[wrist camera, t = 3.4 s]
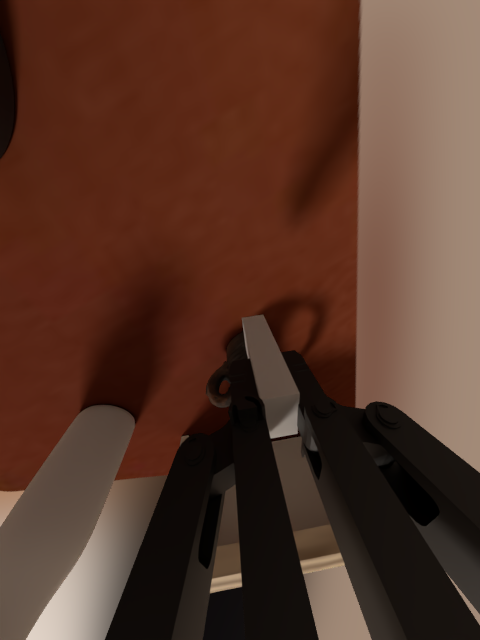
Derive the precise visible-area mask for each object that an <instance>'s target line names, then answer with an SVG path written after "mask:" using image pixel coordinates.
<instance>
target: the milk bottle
mask: <svg viewBox="0 0 480 640" xmlns="http://www.w3.org/2000/svg"><path fill="white" fill-rule="evenodd" d="M134 427H135V420H134V418H133V416H132V415H131V414H130V413H129V412H128V411H126V410H124V409H122V408H119V407H116V406H112V405H95V406H91V407H88V408H86V409H85V410H83V411H82V412H80V413H79V414H78V416H77V417H76V418H75V420H74V421H73V422H72V424H71V425H70V427H69V428H68V429H67V431H66V432H65V434H64V435H63V437H62V438H61V439H60V441H59V442H58V444H57V445H56V447H55V448H54V449H53V451H52V452H51V454H50V455H49V457H48V458H47V459H46V461H45V462H44V464H43V465H42V467H41V468H40V469H39V471H38V472H37V474H36V475H35V477H34V478H33V480H32V481H31V482H30V484H29V485H28V487H27V488H26V490H25V491H24V493H23V494H22V496H21V497H20V499H19V500H18V501H17V503H16V504H15V506H14V507H13V509H12V510H11V512H10V513H9V515H8V516H7V518H6V519H5V521H4V522H3V524H2V526H1V527H0V640H26V638H27V636H28V635H29V633H30V631H31V629H32V628H33V626H34V625H35V623H36V621H37V620H38V618H39V616H40V615H41V613H42V612H43V610H44V609H45V607H46V606H47V604H48V603H49V601H50V600H51V598H52V597H53V595H54V594H55V593H56V591H57V590H58V588H59V587H60V586H61V584H62V583H63V581H64V580H65V579H66V577H67V575H68V574H69V573H70V571H71V570H72V569H73V567H74V566H75V564H76V562H77V561H78V559H79V557H80V556H81V554H82V552H83V550H84V549H85V547H86V545H87V543H88V540H89V539H90V537H91V535H92V533H93V530H94V528H95V526H96V523H97V521H98V519H99V516H100V514H101V511H102V509H103V507H104V504H105V502H106V499H107V496H108V494H109V492H110V489H111V486H112V484H113V482H114V479H115V477H116V474H117V472H118V469H119V467H120V464H121V461H122V459H123V456H124V454H125V451H126V449H127V446H128V444H129V441H130V438H131V436H132V433H133V430H134Z"/></svg>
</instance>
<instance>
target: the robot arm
mask: <svg viewBox="0 0 480 640" xmlns="http://www.w3.org/2000/svg"><path fill="white" fill-rule="evenodd" d="M13 121H14V92H13V84H12V77H11V72H10V67H9V62H8V58H7V54H6V50H5V47H4V44H3V40H2V37H1V34H0V158H1V157H2V155H3V154H4V152H5V150H6V148H7V146H8V143H9V140H10V137H11V133H12V128H13ZM242 323H243V331H244V338H245V346H246V352H247V356H248V359H242V360H236V361H232V363H231V365H230V368H229V372H230V387H231V401H232V402H231V403H230V405H229V411H228V413H229V417H230V420H229V421H228V423H227V424H226V425H225V426H224V427H223V428H221V429H220V430H218V431H216V432H215V433H213V434H211V435H209V436H208V435H206V434H203V433H198V434H193V435H191V436H189V437H188V438H187V439H186V440H185V441H184V442H183V443H181V445H180V447H179V449H178V451H177V453H176V456H175V458H174V461H173V463H172V466H171V469H170V471H169V474H168V476H167V479H166V482H165V484H164V487H163V490H162V492H161V495H160V497H159V500H158V503H157V506H156V508H155V510H154V513H153V516H152V518H151V521H150V523H149V526H148V529H147V531H146V534H145V536H144V539H143V542H142V545H141V547H140V549H139V552H138V555H137V557H136V560H135V562H134V565H133V568H132V570H131V573H130V575H129V578H128V581H127V583H126V586H125V589H124V591H123V594H122V596H121V599H120V602H119V604H118V607H117V609H116V612H115V615H114V617H113V620H112V622H111V625H110V628H109V630H108V633H107V636H106V638H105V640H203V633H204V627H205V620H206V614H207V607H208V601H209V595H210V588H211V582H212V576H213V569H214V563H215V556H216V550H217V543H218V537H219V530H220V524H221V518H222V511H223V505H224V498H225V492H226V491H227V490H228V489H230V488H231V487H233V486H234V485H236V500H237V516H238V531H239V547H240V562H241V578H242V593H243V609H244V624H245V640H319V639H318V635H317V630H316V626H315V622H314V618H313V614H312V610H311V605H310V601H309V597H308V593H307V589H306V584H305V580H304V576H303V572H302V568H301V563H300V559H299V555H298V551H297V547H296V542H295V538H294V534H293V530H292V526H291V522H290V517H289V513H288V509H287V505H286V501H285V496H284V492H283V488H282V484H281V480H280V475H279V471H278V467H277V463H276V459H275V455H274V450H273V446H272V442H271V438H277V437H282V436H288V435H294V434H298V429H299V432H300V434H301V437H302V444H301V455H302V458H303V457H305V456H306V459H307V462H308V465H309V467H310V470H311V473H312V476H313V478H314V481H315V484H316V487H317V489H318V492H319V495H320V498H321V500H322V503H323V506H324V509H325V511H326V514H327V517H328V520H329V522H330V525H331V528H332V531H333V533H334V536H335V539H336V542H337V545H338V547H339V550H340V553H341V556H342V558H343V561H344V564H345V567H346V569H347V572H348V575H349V578H350V580H351V583H352V586H353V589H354V591H355V594H356V597H357V599H358V602H359V605H360V608H361V610H362V613H363V616H364V619H365V621H366V625H367V627H368V630H369V633H370V635H371V638H372V640H480V625H479V624H478V622H477V621H476V619H475V618H474V616H473V614H472V613H471V611H470V610H469V608H468V607H467V605H466V603H465V602H464V600H463V599H462V597H461V596H460V594H459V592H458V591H457V589H456V588H455V586H454V585H453V583H452V582H451V580H450V578H451V579H452V580H453V581H454V582H455V584H456V585H457V586H458V588H459V589H460V590H461V591H462V593H463V594H464V595H465V596H466V598H467V599H468V600H469V601H470V603H471V604H472V605H473V606H474V608H475V609H476V610H477V611H478V612H479V614H480V473H479V472H478V471H476V470H475V469H474V468H473V467H471V466H470V465H469V464H468V463H466V462H465V461H464V460H463V459H461V458H460V457H459V456H458V455H456V454H455V453H454V452H453V451H451V450H450V449H449V448H448V447H446V446H445V445H444V444H443V443H441V442H440V441H439V440H437V439H436V438H435V437H434V436H432V435H431V434H430V433H429V432H427V431H426V430H425V429H424V428H422V427H421V426H420V425H419V424H417V423H416V422H415V421H413V420H412V419H411V418H409V417H408V416H407V415H406V414H405V413H403V412H402V411H401V410H399V409H398V408H396V407H394V406H392V405H390V404H387V403H384V402H373V403H370V404H369V405H367V406H366V409H359V408H352V407H346V406H342V405H339V404H337V403H336V402H335V401H334V400H332V399H331V398H329V397H327V396H326V395H325V393H324V392H323V390H322V388H321V387H320V385H319V384H318V382H317V380H316V379H315V377H314V375H313V374H312V372H311V370H310V369H309V367H308V365H307V364H306V362H305V360H304V359H303V357H302V356H301V355H300V354H299V353H297V352H296V351H295V350H293V351H287V352H280V350H279V348H278V345H277V343H276V341H275V339H274V337H273V335H272V332H271V330H270V328H269V326H268V324H267V322H266V320H265V317H264V315H257V316H251V317H245V318H242ZM444 570H445V571H446V572H445V571H444ZM446 573H447V574H448V575H449V576H450V578H449V577H448V575H447V574H446Z"/></svg>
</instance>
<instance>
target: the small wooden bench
mask: <svg viewBox="0 0 480 640" xmlns="http://www.w3.org/2000/svg"><path fill="white" fill-rule="evenodd" d="M188 437H189V435H186V436H182V437H181V443H183V442H184V441H185V440H186V439H187V438H188ZM181 443H180V445H181ZM301 444H302V437H301V436H300V437H295V438H289V439H284V440H278V441H273V442H272V446H273V450H274V455H275V459H276V463H277V467H278V471H279V475H280V480H281V484H282V488H283V492H284V496H285V501H286V505H287V509H288V513H289V517H290V522H291V526H292V530H293V534H294V538H295V542H296V547H297V551H298V555H299V559H300V563H301V568H302V572H303V574H305V573H310V572H314V571H320V570H325V569H329V568H334V567H339V566H344V565H345V564H344V561H343V558H342V556H341V553H340V550H339V547H338V545H337V542H336V539H335V536H334V533H333V531H332V528H331V525H330V522H329V520H328V517H327V514H326V511H325V509H324V506H323V503H322V500H321V498H320V495H319V492H318V489H317V487H316V484H315V481H314V478H313V476H312V473H311V470H310V467H309V465H308V462H307V459H306V456H305V457H303V458H302V455H301ZM237 587H242V578H241V562H240V547H239V531H238V516H237V500H236V485H234V486H233V487H231V488H230V489H228V490H227V491H226V492H225V498H224V505H223V511H222V518H221V524H220V530H219V537H218V543H217V550H216V556H215V563H214V569H213V576H212V582H211V588H210V593H213V592H218V591H223V590H227V589H232V588H237Z"/></svg>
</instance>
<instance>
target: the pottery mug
mask: <svg viewBox="0 0 480 640" xmlns="http://www.w3.org/2000/svg"><path fill="white" fill-rule="evenodd" d="M226 350H227V362H226V361H225V362H224V364H223V365H222V366H221V367H220V368H219V369H218V370H216V371H215V372H214V373H213V375H212V376H211V377H210V379H209V381H208V383H207V386H206V395H207V396H208V397H209V401H210V402H211V403H212V404H213V405H215V406H217V407H221V408H223V407H228V406H229V405H230V403H231V402H232V401H231V387H229V389H228V391H227V393H226V394H223V395H222V394H220V393H219V387H220V385H221V383H222V381H224V380H227V381H228V382H229V383H230V372H229V368H230V365H231V363H232V361H236V360H242V359H248V356H247V352H246V346H245V338H244V331H243V332H242V333H240V334H238V335H237V336H236V337H234V338H233V339H232V340H231V341H230V342H229V344H228V346H227V348H226ZM303 359H304V358H303Z"/></svg>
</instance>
